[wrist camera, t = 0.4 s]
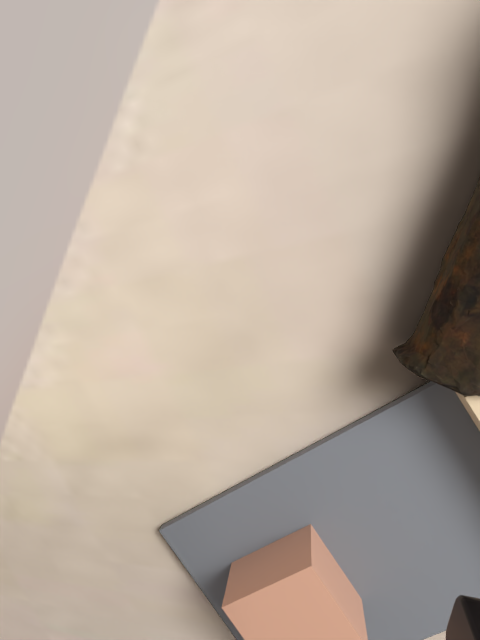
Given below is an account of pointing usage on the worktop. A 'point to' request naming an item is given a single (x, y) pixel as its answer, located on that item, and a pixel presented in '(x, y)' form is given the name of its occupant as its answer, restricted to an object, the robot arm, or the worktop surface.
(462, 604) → the robot arm
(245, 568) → the salmon brown block
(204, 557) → the slate mat
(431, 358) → the hand tool
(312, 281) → the worktop surface
